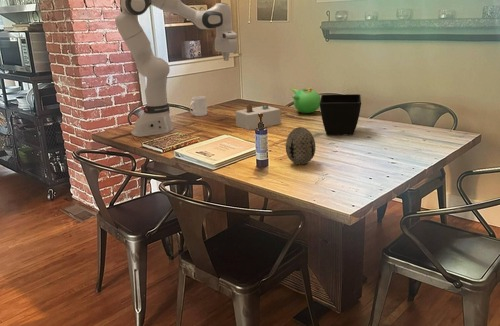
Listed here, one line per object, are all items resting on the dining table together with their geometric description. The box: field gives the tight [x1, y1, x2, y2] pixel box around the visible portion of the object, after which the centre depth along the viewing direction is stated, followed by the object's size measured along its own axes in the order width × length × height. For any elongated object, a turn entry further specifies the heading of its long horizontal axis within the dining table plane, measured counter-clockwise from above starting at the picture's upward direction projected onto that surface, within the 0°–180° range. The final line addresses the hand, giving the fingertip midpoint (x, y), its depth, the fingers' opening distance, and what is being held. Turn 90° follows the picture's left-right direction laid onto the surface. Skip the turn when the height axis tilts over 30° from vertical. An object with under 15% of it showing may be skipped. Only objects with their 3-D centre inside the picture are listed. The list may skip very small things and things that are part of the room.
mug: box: [189, 95, 208, 117], centre depth 277 cm, size 9×12×11 cm
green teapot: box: [291, 87, 321, 114], centre depth 266 cm, size 18×17×15 cm
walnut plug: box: [246, 104, 253, 113], centre depth 243 cm, size 3×3×9 cm
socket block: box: [234, 105, 282, 131], centre depth 246 cm, size 20×14×8 cm
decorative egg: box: [285, 126, 316, 165], centre depth 180 cm, size 12×12×15 cm
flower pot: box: [319, 93, 362, 136], centre depth 221 cm, size 19×19×17 cm
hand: (226, 60), depth 252 cm, fingers closed
